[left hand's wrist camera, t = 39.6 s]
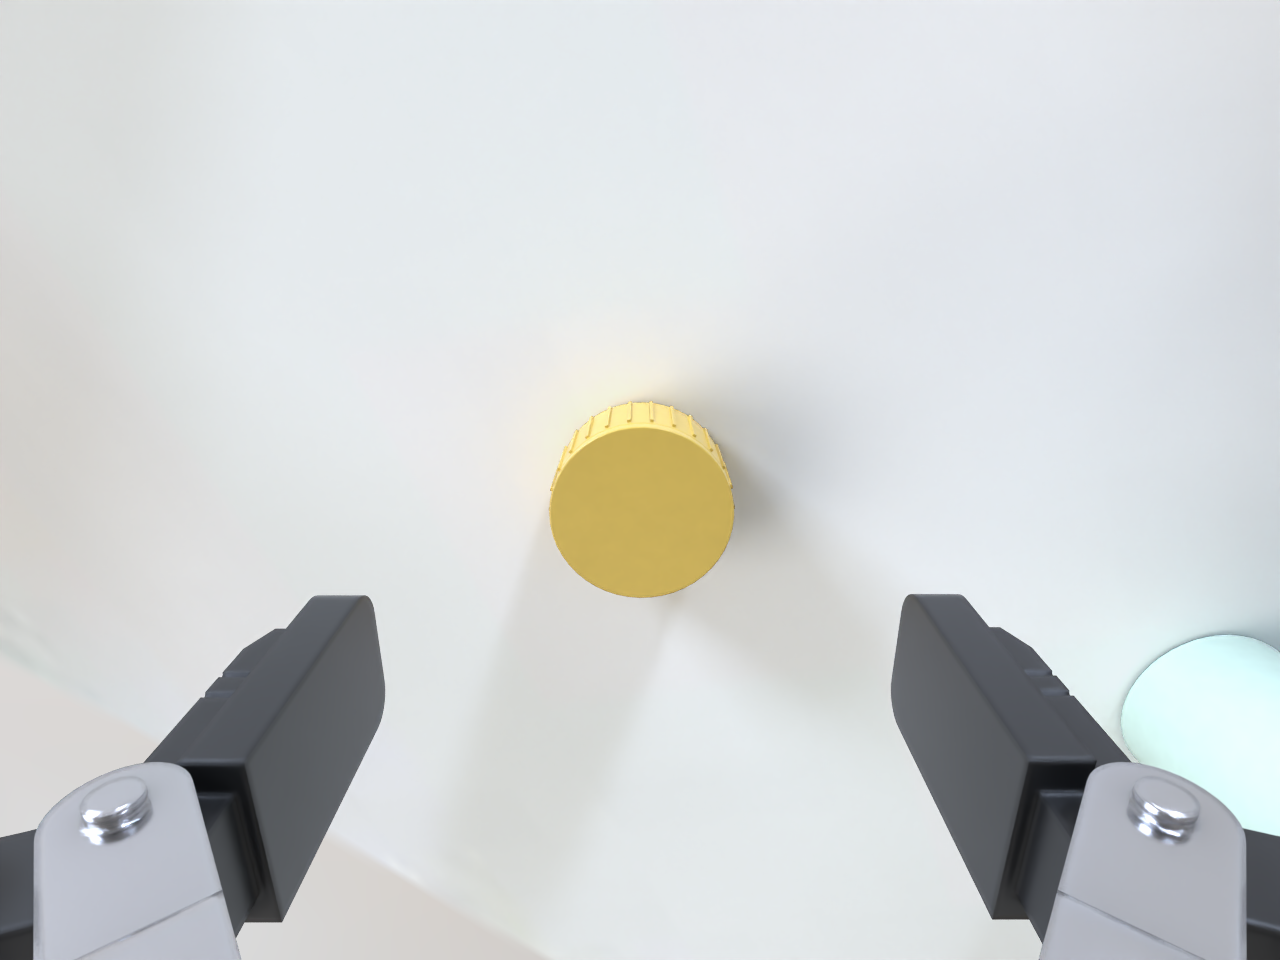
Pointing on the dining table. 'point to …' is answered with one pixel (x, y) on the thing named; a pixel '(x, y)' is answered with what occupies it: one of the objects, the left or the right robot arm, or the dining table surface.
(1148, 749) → the bottle
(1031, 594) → the dining table surface
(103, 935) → the left robot arm
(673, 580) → the cap
